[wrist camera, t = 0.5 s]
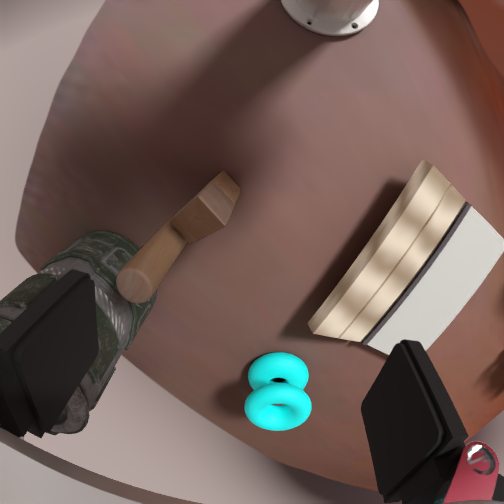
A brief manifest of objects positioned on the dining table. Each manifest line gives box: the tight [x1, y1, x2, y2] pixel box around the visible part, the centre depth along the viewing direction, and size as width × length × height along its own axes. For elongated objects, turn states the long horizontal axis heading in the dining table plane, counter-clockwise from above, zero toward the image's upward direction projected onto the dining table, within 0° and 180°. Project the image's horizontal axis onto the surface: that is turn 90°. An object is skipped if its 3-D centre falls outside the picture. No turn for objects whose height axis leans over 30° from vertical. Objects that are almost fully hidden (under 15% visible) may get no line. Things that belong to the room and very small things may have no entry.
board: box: [361, 201, 504, 355], centre depth 43 cm, size 26×12×2 cm, turn 150°
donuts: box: [244, 352, 311, 431], centre depth 48 cm, size 10×10×10 cm
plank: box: [308, 160, 466, 342], centre depth 40 cm, size 26×10×2 cm, turn 150°
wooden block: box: [116, 171, 241, 304], centre depth 34 cm, size 4×11×18 cm, turn 131°
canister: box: [0, 231, 157, 435], centre depth 34 cm, size 16×16×28 cm
